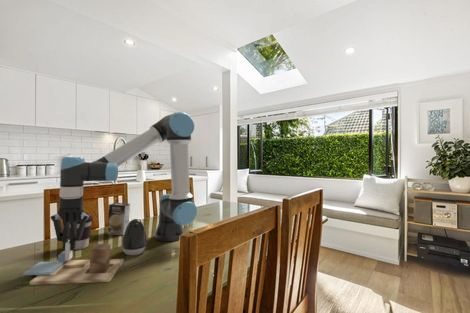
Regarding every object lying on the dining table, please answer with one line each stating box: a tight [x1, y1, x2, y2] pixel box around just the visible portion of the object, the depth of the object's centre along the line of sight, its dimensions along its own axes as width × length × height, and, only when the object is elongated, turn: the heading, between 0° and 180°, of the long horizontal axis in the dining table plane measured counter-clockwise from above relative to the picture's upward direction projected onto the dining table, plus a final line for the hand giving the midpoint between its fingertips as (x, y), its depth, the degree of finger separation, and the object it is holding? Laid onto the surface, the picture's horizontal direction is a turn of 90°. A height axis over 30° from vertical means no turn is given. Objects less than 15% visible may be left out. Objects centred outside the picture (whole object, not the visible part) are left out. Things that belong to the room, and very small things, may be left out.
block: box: [89, 243, 111, 273], centre depth 89 cm, size 5×5×9 cm
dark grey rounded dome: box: [121, 218, 148, 256], centre depth 107 cm, size 10×10×15 cm
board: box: [29, 258, 125, 286], centre depth 88 cm, size 24×16×2 cm, turn 100°
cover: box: [22, 250, 67, 276], centre depth 88 cm, size 8×12×3 cm, turn 10°
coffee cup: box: [68, 212, 94, 251], centre depth 112 cm, size 10×10×15 cm
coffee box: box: [106, 202, 131, 236], centre depth 133 cm, size 9×6×16 cm
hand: (68, 258), depth 93 cm, fingers closed
